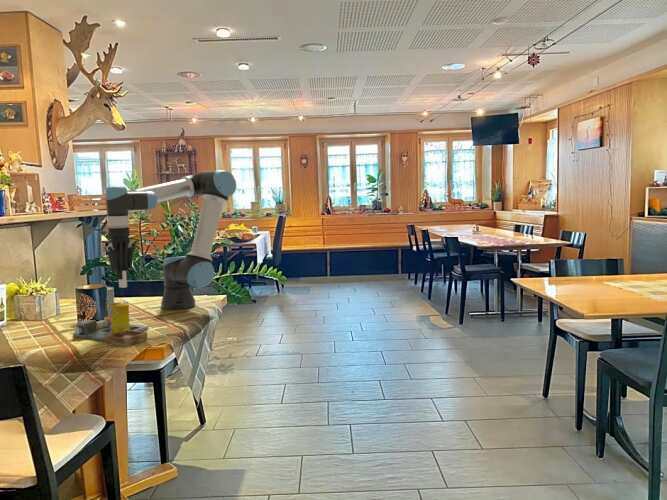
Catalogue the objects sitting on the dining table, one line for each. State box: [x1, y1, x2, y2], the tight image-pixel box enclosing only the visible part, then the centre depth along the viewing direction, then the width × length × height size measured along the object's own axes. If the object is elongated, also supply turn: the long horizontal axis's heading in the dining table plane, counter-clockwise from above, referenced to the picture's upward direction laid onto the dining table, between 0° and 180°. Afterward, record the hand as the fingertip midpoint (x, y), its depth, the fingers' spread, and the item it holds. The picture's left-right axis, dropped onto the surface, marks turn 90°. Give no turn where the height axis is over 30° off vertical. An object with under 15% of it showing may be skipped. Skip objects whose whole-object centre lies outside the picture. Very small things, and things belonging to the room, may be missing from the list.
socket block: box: [72, 319, 149, 342], centre depth 184 cm, size 18×18×5 cm
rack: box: [104, 329, 148, 348], centre depth 173 cm, size 10×10×3 cm
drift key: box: [74, 317, 112, 334], centre depth 184 cm, size 14×3×3 cm, turn 156°
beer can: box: [106, 286, 115, 318], centre depth 208 cm, size 10×10×12 cm
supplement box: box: [111, 301, 131, 333], centre depth 185 cm, size 6×6×11 cm
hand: (123, 287), depth 194 cm, fingers closed
